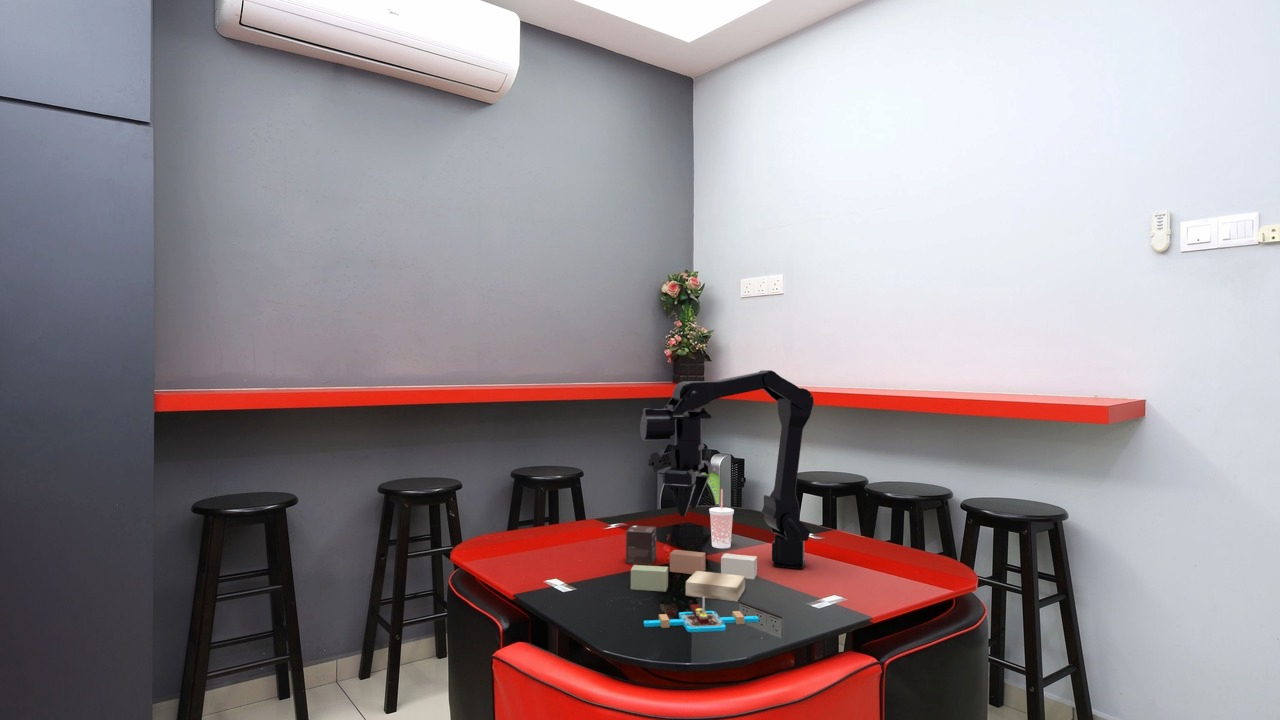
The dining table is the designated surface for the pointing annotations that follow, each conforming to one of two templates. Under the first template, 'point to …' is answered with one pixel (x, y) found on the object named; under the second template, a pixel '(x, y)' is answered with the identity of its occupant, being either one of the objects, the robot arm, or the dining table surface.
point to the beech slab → (715, 585)
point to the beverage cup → (721, 525)
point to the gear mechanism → (701, 620)
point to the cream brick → (739, 565)
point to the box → (641, 545)
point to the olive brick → (649, 578)
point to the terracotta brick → (687, 561)
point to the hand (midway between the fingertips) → (688, 511)
